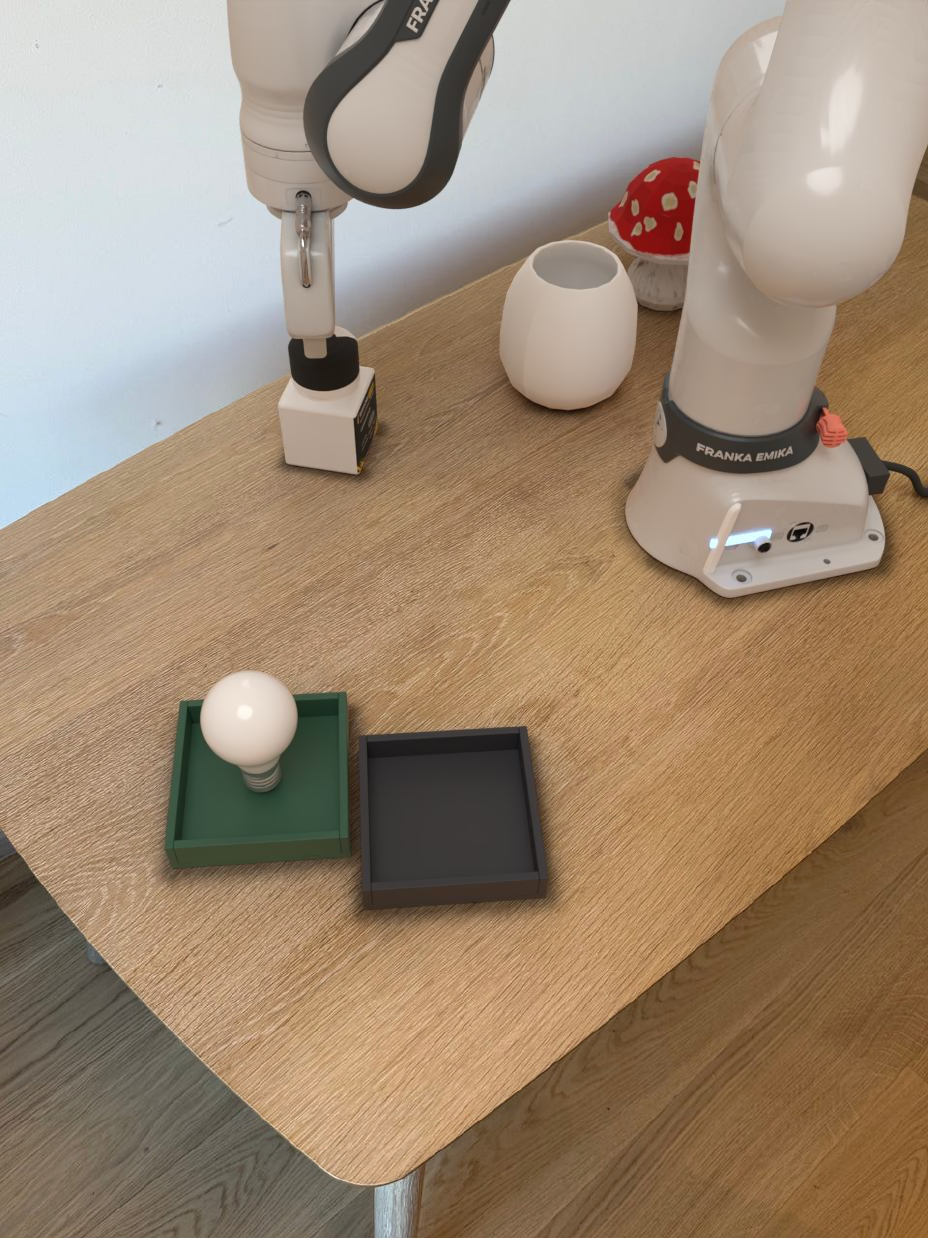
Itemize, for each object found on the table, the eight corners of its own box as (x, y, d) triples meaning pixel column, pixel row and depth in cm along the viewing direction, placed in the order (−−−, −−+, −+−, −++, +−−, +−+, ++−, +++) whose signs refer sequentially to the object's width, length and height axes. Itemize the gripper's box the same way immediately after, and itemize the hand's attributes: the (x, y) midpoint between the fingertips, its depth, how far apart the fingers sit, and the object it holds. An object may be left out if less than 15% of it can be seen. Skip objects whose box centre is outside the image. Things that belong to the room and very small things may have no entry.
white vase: (655, 382, 111) (676, 262, 100) (574, 445, 104) (588, 324, 94) (552, 329, 116) (563, 210, 106) (469, 386, 110) (472, 265, 99)
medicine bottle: (359, 476, 101) (351, 369, 92) (284, 465, 102) (269, 357, 92) (378, 427, 105) (373, 320, 96) (307, 417, 106) (294, 310, 97)
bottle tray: (524, 747, 82) (526, 725, 80) (545, 898, 74) (548, 878, 72) (360, 756, 81) (358, 735, 79) (364, 910, 73) (361, 891, 71)
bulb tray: (348, 713, 84) (346, 691, 81) (351, 857, 76) (348, 837, 74) (186, 722, 83) (179, 700, 81) (171, 869, 75) (163, 849, 73)
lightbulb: (295, 826, 77) (278, 736, 68) (207, 813, 77) (179, 722, 69) (317, 750, 81) (303, 657, 72) (233, 738, 81) (210, 644, 73)
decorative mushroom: (666, 348, 114) (691, 214, 103) (571, 290, 121) (584, 159, 109) (750, 299, 120) (783, 167, 109) (655, 246, 127) (677, 117, 116)
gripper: (347, 235, 76) (355, 395, 86) (344, 99, 89) (352, 253, 100) (255, 236, 75) (275, 397, 86) (266, 100, 89) (282, 254, 99)
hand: (316, 319), depth 93 cm, fingers open, 8 cm apart
